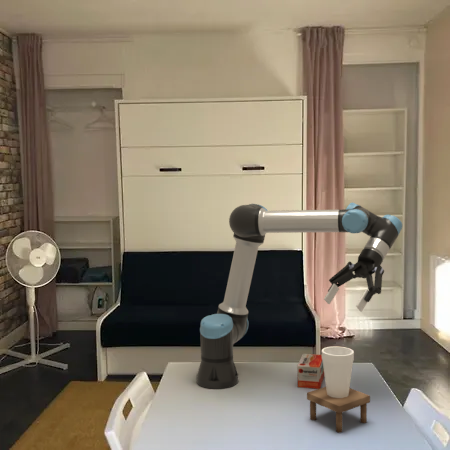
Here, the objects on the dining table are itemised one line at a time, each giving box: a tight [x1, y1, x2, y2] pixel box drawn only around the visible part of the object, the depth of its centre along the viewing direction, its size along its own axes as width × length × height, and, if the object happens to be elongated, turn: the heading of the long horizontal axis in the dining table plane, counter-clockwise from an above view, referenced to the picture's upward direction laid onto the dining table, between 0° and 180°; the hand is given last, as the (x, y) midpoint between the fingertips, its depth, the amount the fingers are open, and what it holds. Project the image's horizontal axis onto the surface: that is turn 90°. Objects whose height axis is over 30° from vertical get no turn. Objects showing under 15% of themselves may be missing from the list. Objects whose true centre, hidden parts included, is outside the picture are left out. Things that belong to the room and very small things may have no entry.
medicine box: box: [296, 353, 325, 390], centre depth 194 cm, size 15×8×8 cm, turn 164°
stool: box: [306, 386, 371, 433], centre depth 161 cm, size 13×13×8 cm
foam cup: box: [321, 345, 355, 398], centre depth 160 cm, size 10×9×13 cm
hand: (342, 305), depth 173 cm, fingers open, 13 cm apart
